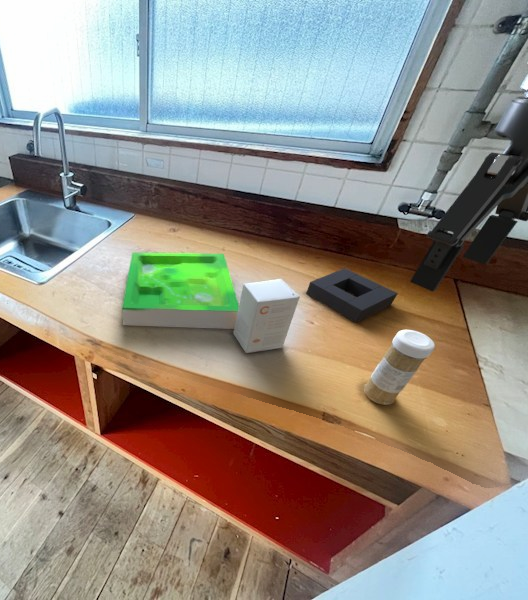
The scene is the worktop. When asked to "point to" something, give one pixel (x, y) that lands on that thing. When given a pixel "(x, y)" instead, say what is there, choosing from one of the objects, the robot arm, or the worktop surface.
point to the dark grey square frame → (352, 307)
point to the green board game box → (179, 291)
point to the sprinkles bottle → (398, 366)
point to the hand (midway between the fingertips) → (449, 272)
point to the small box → (264, 315)
